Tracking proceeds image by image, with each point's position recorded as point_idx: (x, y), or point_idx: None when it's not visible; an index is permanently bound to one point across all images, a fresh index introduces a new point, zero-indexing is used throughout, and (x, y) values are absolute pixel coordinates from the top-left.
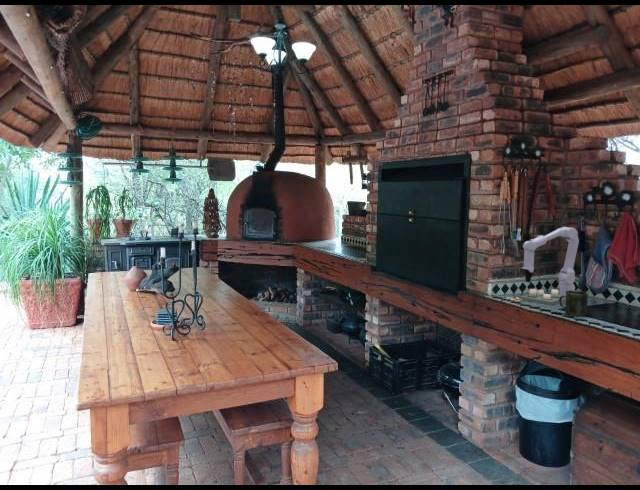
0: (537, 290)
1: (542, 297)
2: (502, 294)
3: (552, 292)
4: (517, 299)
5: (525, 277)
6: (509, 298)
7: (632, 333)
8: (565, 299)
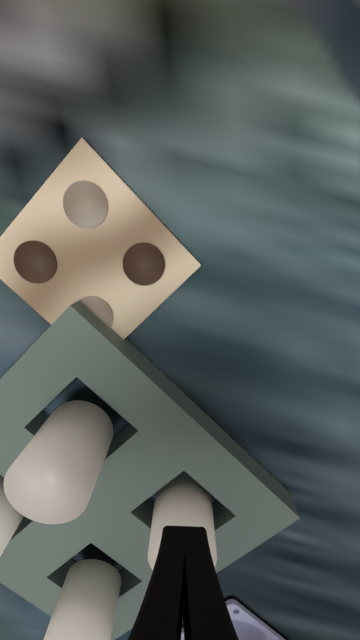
0: None
1: None
2: (349, 179)
3: (60, 615)
4: (25, 267)
5: (195, 627)
6: (66, 190)
7: None
8: None
